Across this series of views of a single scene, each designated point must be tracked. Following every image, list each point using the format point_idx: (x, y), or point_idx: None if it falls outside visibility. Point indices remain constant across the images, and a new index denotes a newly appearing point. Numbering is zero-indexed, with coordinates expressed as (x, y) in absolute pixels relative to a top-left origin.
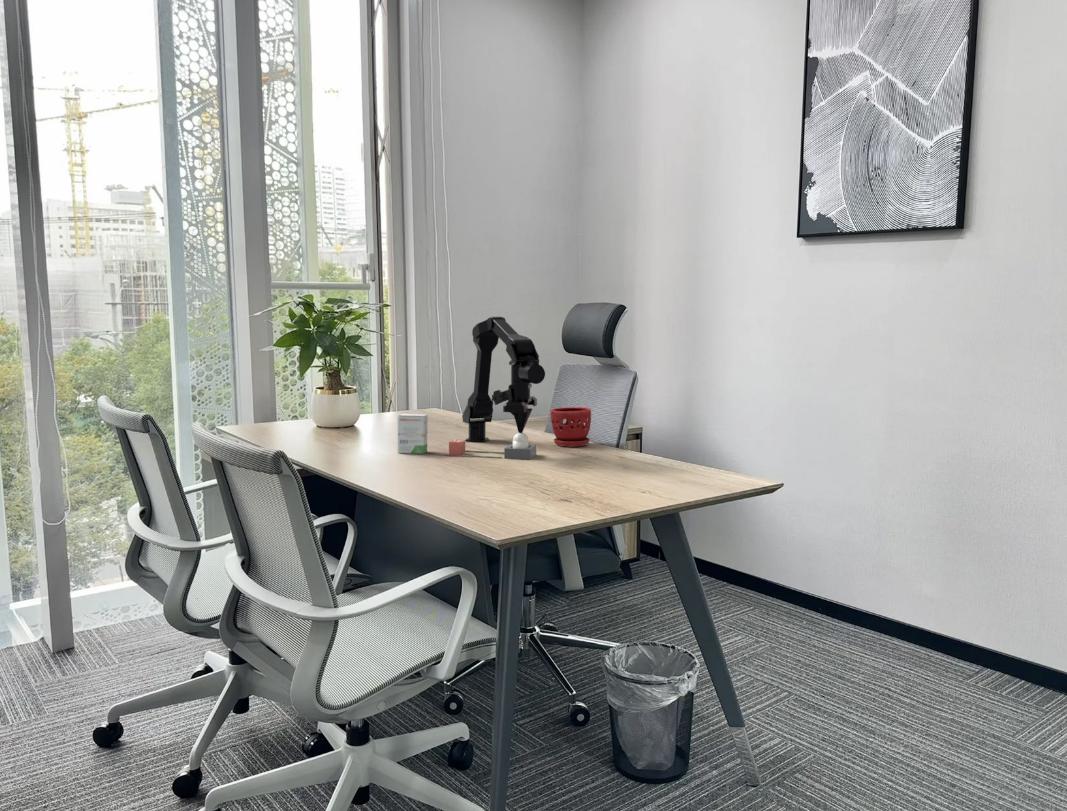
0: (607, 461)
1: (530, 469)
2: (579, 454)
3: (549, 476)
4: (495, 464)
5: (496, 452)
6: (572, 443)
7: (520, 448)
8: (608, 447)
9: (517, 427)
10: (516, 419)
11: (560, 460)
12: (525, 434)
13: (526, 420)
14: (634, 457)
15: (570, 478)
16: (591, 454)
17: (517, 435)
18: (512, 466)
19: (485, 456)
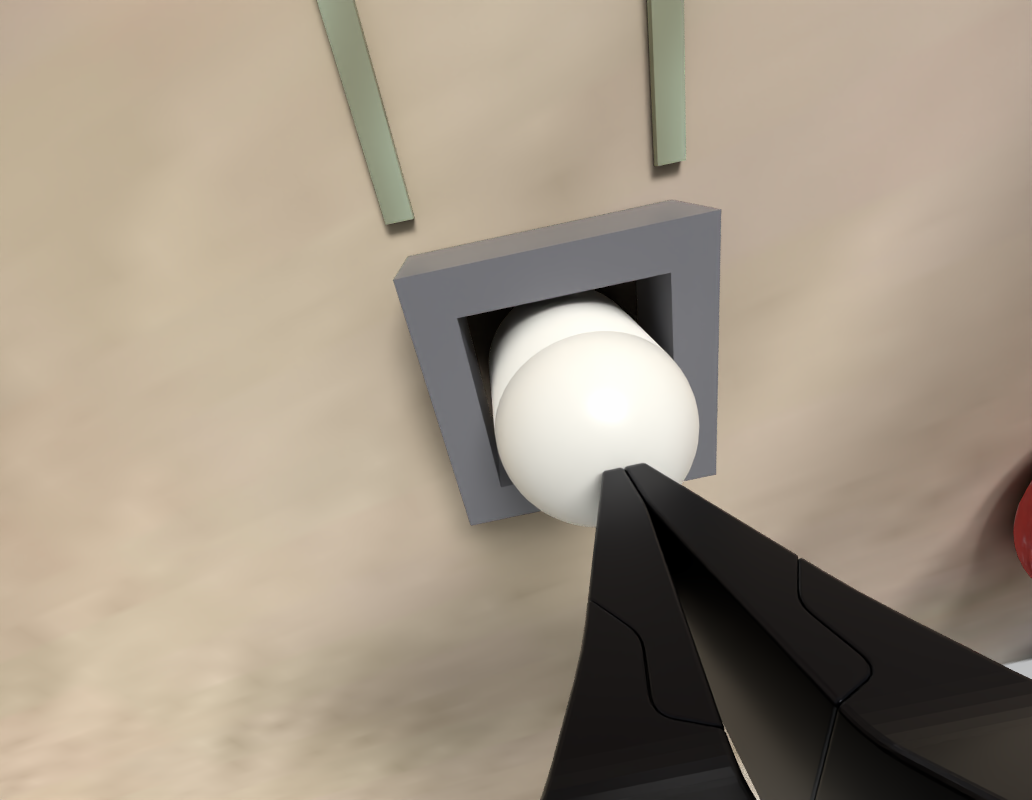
0: None
1: (150, 602)
2: None
3: (71, 731)
4: (89, 320)
5: (650, 10)
6: (1021, 542)
7: (475, 434)
8: (1000, 647)
9: (599, 523)
10: (581, 693)
11: (531, 616)
12: None
13: (729, 734)
14: None
15: (119, 792)
16: None
17: (535, 459)
18: (138, 475)
19: (326, 7)
